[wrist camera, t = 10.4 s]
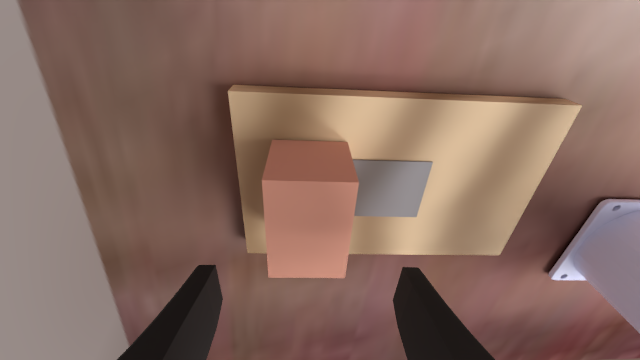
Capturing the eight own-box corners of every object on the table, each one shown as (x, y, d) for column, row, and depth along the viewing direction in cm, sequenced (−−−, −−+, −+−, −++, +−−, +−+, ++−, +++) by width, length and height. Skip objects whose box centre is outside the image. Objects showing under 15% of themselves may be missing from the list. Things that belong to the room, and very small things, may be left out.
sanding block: (347, 141, 15) (358, 182, 12) (338, 226, 18) (344, 277, 15) (272, 139, 15) (261, 180, 12) (275, 225, 18) (268, 277, 15)
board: (564, 98, 16) (583, 106, 15) (490, 243, 22) (500, 256, 20) (233, 84, 15) (227, 91, 14) (250, 240, 20) (247, 254, 19)
